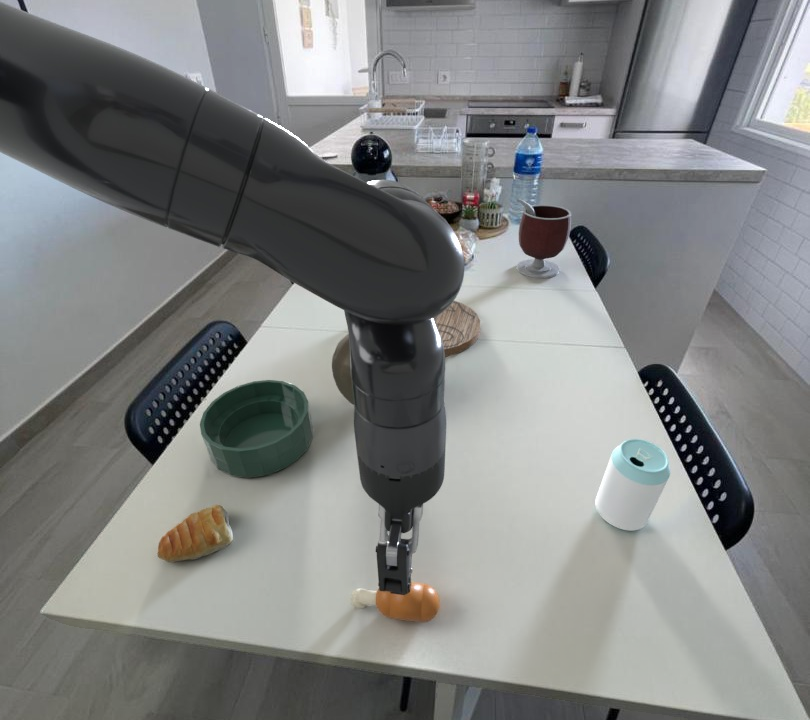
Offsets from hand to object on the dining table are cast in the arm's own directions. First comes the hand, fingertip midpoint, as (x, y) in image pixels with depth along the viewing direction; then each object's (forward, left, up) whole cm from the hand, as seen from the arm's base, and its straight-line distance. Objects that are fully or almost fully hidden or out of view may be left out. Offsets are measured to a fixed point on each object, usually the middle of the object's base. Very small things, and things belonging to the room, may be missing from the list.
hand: (405, 548), depth 47 cm
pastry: (-14, +27, -13) cm, 32 cm away
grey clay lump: (+22, +32, -13) cm, 41 cm away
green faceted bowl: (+2, +38, -13) cm, 40 cm away
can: (+31, -12, -13) cm, 36 cm away
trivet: (+49, +43, -13) cm, 66 cm away
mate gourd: (+96, +43, -13) cm, 106 cm away
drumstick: (-1, +1, -13) cm, 13 cm away
